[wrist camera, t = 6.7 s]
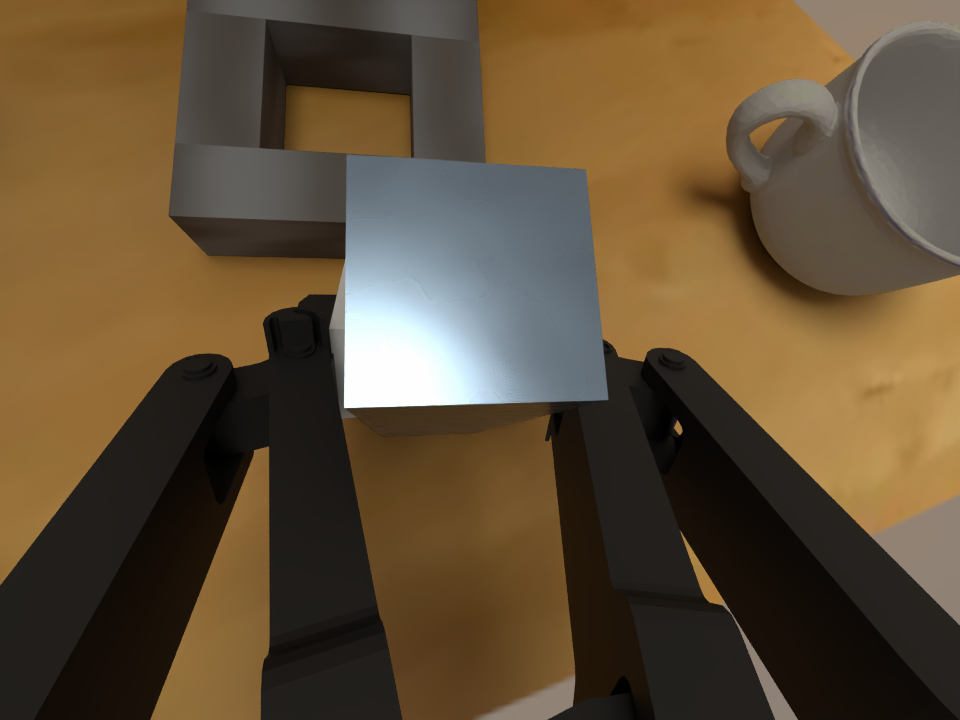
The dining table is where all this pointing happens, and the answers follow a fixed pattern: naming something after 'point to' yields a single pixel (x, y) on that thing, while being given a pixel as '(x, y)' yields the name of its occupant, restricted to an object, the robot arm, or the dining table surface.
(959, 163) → the teacup
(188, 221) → the brown grey rectangular blocks
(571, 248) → the grey square prism block
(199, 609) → the dining table surface
